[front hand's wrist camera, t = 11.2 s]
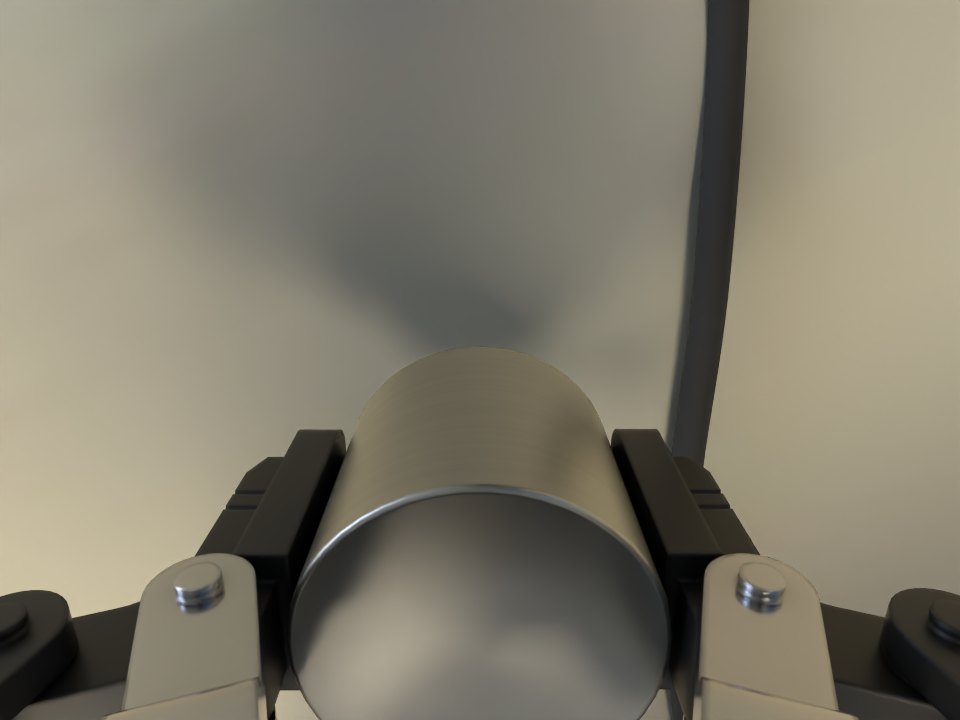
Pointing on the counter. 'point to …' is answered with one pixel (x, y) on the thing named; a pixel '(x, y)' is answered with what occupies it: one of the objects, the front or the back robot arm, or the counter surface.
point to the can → (479, 557)
